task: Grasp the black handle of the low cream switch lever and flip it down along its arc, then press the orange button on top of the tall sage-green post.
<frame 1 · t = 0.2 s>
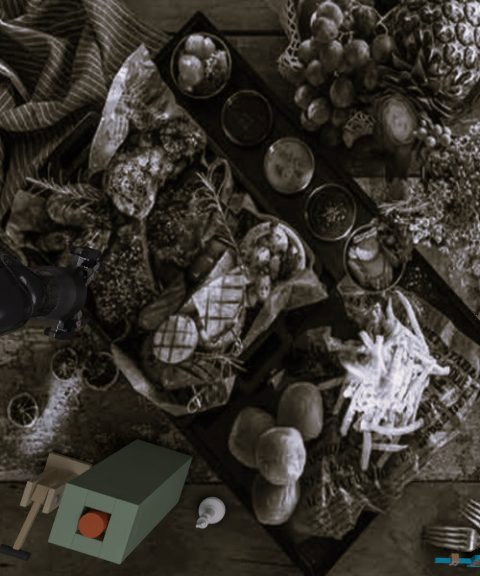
hand: (91, 293, 121), 22 cm above the table, tool pointing down, fingers open, 8 cm apart
switch bracket: (65, 480, 144), on the table
button: (94, 522, 111), point 32 cm above the table, slide at 0.1 cm
button post: (157, 470, 144), on the table
chess piece: (212, 509, 144), on the table
lever: (29, 521, 132), point 12 cm above the table, hinge at 25.0°
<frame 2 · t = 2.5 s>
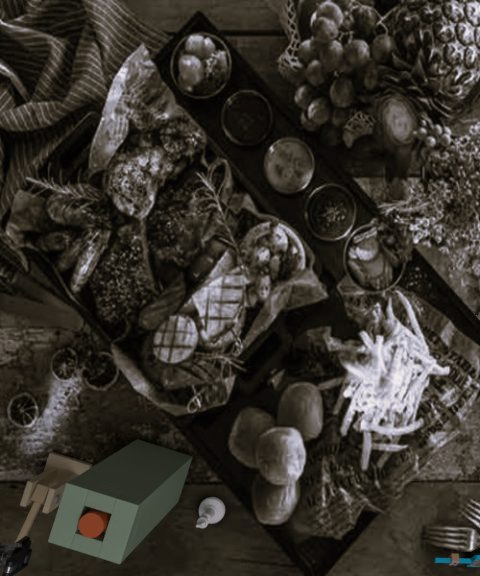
hand: (0, 534, 120), 24 cm above the table, tool pointing down, fingers open, 8 cm apart
nothing on the table moved.
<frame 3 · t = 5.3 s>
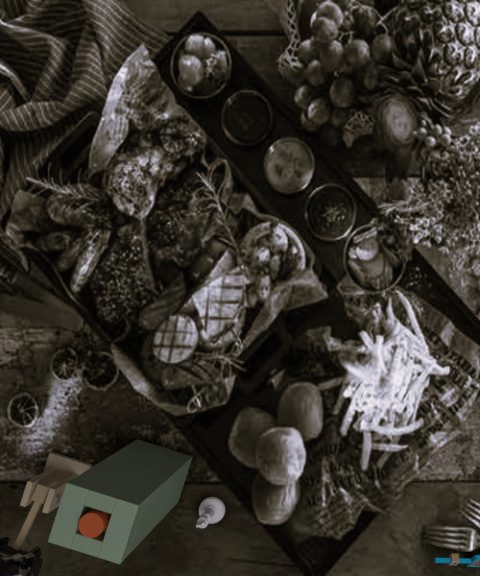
hand: (21, 547, 132), 12 cm above the table, tool pointing down, fingers closed on lever, 5 cm apart
lever: (29, 521, 132), point 12 cm above the table, hinge at 24.9°, touching gripper
everything else where it was.
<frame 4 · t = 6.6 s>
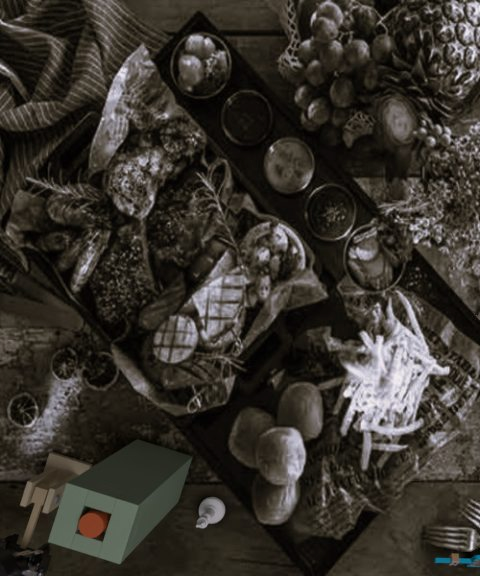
hand: (30, 544, 136), 8 cm above the table, tool pointing down, fingers closed on lever, 5 cm apart
lever: (33, 520, 133), point 10 cm above the table, hinge at 3.2°, touching gripper
everything else where it was.
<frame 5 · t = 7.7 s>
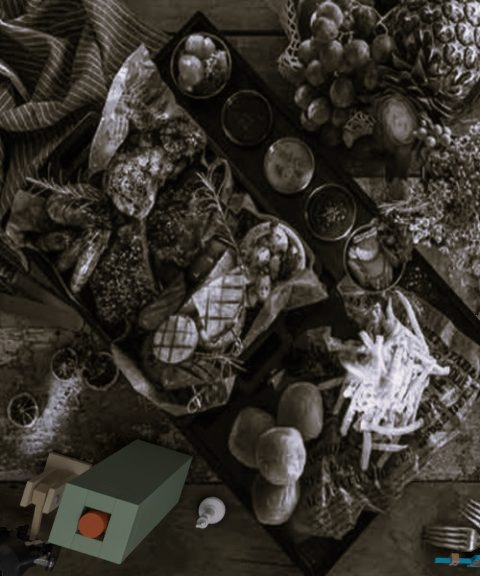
hand: (41, 534, 140), 4 cm above the table, tool pointing down, fingers closed on lever, 5 cm apart
lever: (37, 516, 135), point 9 cm above the table, hinge at -17.6°, touching gripper
everything else where it was.
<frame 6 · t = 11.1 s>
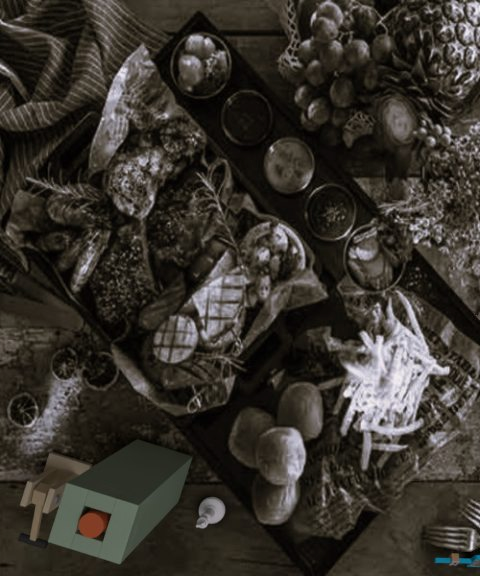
lever: (37, 516, 135), point 9 cm above the table, hinge at -18.1°
everything else where it was.
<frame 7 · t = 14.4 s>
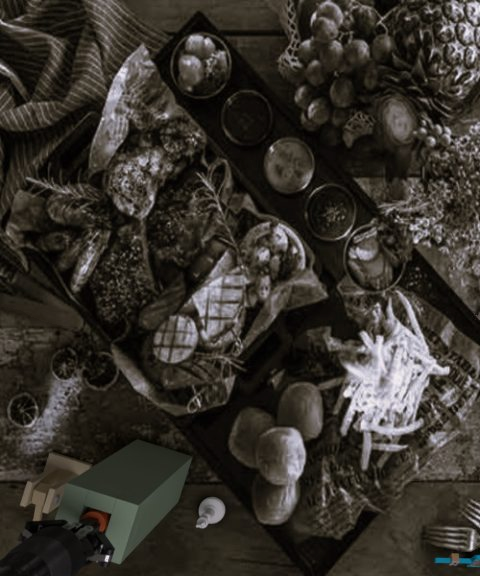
hand: (92, 524, 111), 33 cm above the table, tool pointing down, fingers closed
button: (96, 521, 112), point 32 cm above the table, slide at -0.6 cm, touching gripper
everything else where it was.
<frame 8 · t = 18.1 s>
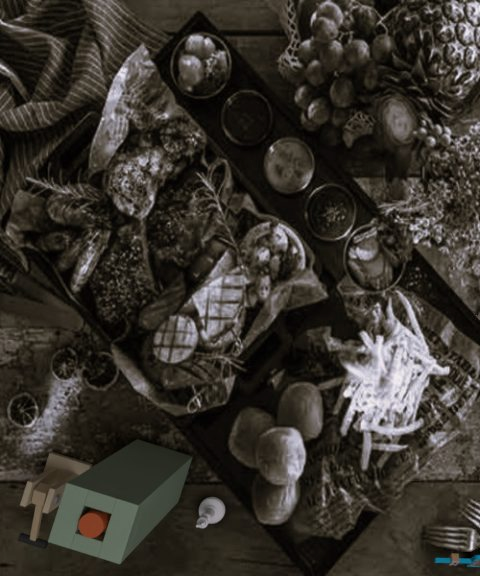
button: (94, 522, 111), point 32 cm above the table, slide at 0.1 cm
everything else where it was.
at the end: lever at -18° (first picture: +25°); button pushed in 1.1 cm at the most during the clip, back to where it started at the end; button slide at 0.1 cm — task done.
